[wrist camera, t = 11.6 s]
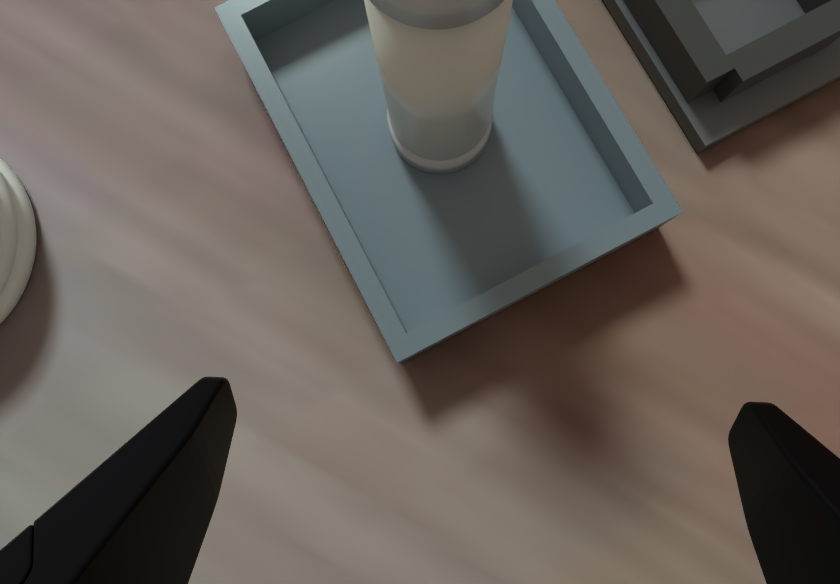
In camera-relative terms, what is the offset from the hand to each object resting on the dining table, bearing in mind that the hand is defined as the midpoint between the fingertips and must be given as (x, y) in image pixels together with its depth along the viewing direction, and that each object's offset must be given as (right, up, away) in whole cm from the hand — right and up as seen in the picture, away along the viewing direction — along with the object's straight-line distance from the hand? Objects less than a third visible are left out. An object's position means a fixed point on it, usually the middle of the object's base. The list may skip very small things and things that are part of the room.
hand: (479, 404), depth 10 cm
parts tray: (0, +9, +15) cm, 17 cm away
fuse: (0, +9, +14) cm, 17 cm away
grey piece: (+12, +14, +15) cm, 24 cm away
